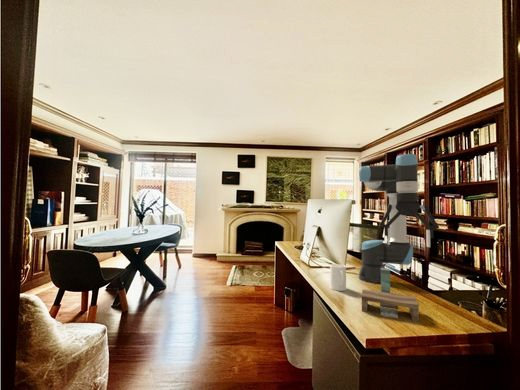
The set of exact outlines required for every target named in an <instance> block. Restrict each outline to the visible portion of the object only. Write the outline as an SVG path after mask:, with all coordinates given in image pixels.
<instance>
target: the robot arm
mask: <svg viewBox="0 0 520 390" xmlns="http://www.w3.org/2000/svg"><path fill="white" fill-rule="evenodd" d="M418 164H419V161H418V155H417V154H413V153H405V154H399V155H398V156H396V159H395V164H380V165H363V166H360V167H359V168H358V169H359V170H358V171H359V172H358V173H359V174H358V176H359V178H358V179H359V182H361V183H363V184H364V186H365V187H366V189H367V188H368V189H369V190H372V191H376V192H385V194H386V195H385V196H387V197H388V206H387V211H386V212H385V214H384V216H383V218H382V219H381V221H380V223H379V226H380V227H382V228H384V236H385V237H387V239H386V242H384V240H381V239H372V240H371V239H370V240H365V241H363V242H362V243H361V267H360V270H359V272H358V273H359V274H358V278H359V280H361V281H363V282H367V283H374V284H381V268H384V264H393V265H400V266H403V265H404V266H409V265H410V264H411V263H412V261H413V257H414V256H413V255H414V246H413V244H411V242H410V240H408V238H407V235H408V234H407V216H410V217H411V216H415V217H416V218H417V219H418V220H420V222H421V224H423V225H424V226H426V228H427V229H426V231H425V235H426V237H425V238H426V247H427V248H431V239H434V230H438V229H439V228H440V226H439V225H438V223H437V221H436V219H435V217H434V216H433V214H432V213H431V211H430V210H429V205H428V204H421V205H420V203H419V193H418V192H419V180H418V177H419V176H418V171H419V170H418V166H419V165H418ZM420 209H421V210H422V211H424V213H425V215H426V218H427V219H429V222H430V223H431V224H430V223H429V222H428V221H427V220H426V219H425V218H424V217H423V216H422V215H421V214H420V213H419V212H418V211H419V210H420ZM387 219H389V220H388V222H387V223H386V221H387Z"/></svg>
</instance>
